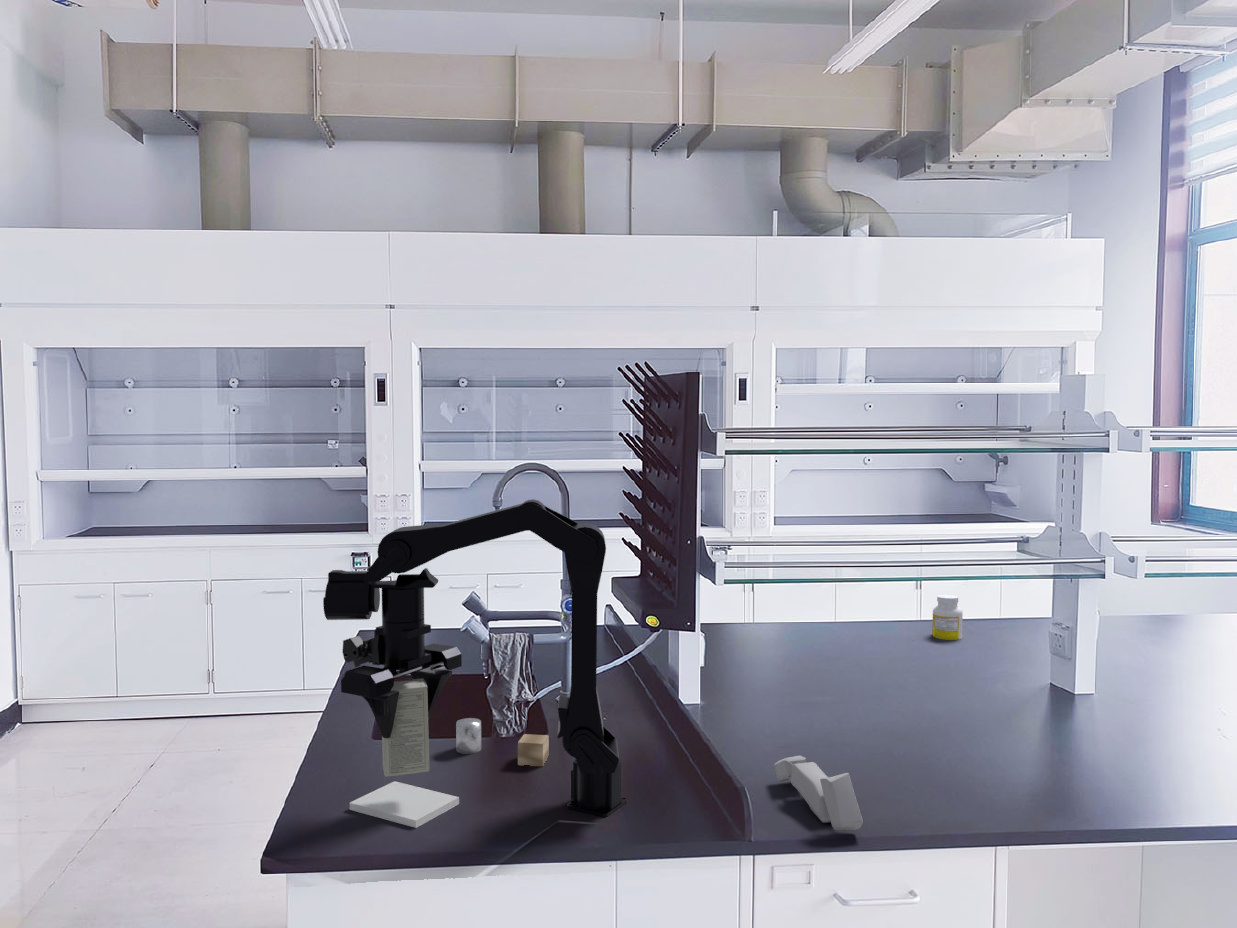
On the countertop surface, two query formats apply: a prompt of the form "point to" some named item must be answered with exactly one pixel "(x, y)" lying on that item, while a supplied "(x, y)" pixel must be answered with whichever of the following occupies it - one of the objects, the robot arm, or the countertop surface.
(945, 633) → the supplement bottle
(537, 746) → the oak block
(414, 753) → the skincare box
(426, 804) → the grey mat
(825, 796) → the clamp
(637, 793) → the countertop surface
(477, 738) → the metal cylinder
